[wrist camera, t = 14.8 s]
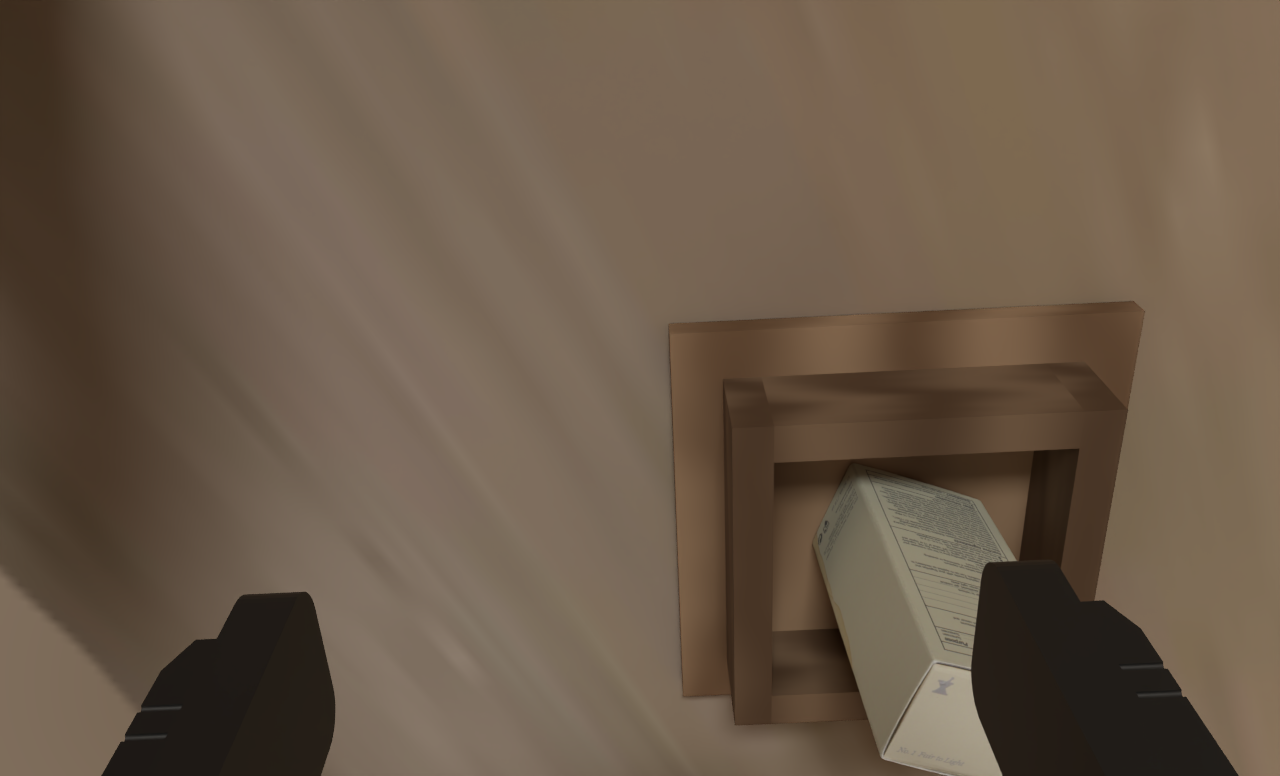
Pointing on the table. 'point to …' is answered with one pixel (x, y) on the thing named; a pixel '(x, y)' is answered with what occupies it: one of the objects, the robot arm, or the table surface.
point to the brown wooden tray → (882, 439)
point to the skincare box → (911, 612)
